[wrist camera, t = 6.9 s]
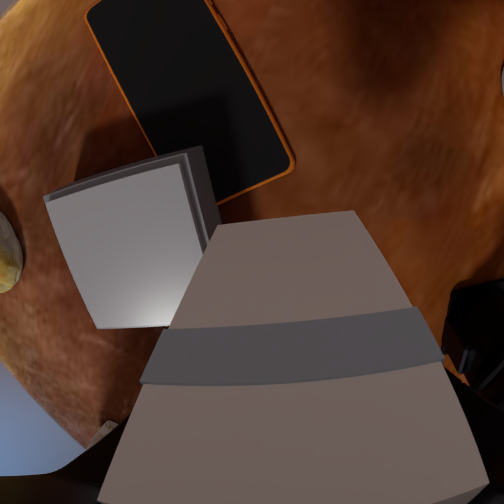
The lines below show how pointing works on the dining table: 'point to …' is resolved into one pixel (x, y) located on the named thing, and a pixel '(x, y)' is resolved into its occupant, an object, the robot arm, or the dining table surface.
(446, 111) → the dining table surface
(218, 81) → the smartphone
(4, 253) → the bread roll
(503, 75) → the energy drink
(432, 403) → the carton
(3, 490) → the robot arm
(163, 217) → the display podium
